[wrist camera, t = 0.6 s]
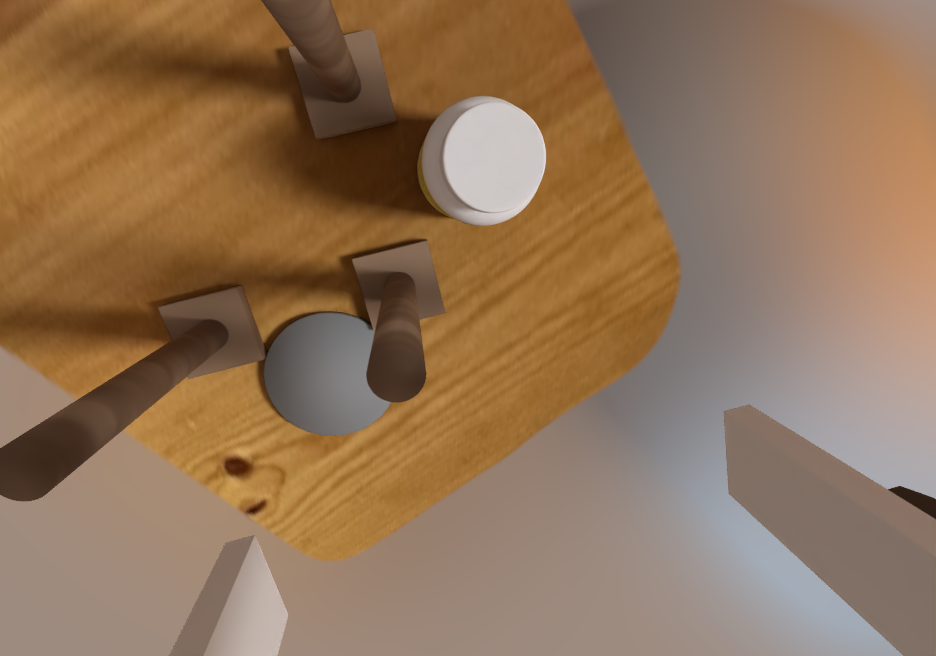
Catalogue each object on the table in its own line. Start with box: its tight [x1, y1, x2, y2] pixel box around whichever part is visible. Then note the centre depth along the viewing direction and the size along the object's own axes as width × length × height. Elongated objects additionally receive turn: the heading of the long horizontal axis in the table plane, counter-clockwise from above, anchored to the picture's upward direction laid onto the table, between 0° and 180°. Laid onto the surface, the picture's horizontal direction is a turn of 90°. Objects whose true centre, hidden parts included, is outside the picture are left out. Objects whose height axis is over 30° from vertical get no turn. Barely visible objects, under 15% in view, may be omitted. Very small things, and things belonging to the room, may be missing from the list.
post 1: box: [0, 285, 267, 501], centre depth 24 cm, size 5×5×18 cm
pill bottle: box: [417, 96, 546, 226], centre depth 27 cm, size 6×6×11 cm
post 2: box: [262, 0, 397, 140], centre depth 21 cm, size 5×5×18 cm
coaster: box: [264, 312, 391, 436], centre depth 34 cm, size 9×9×1 cm
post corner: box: [352, 240, 445, 402], centre depth 25 cm, size 5×5×18 cm
